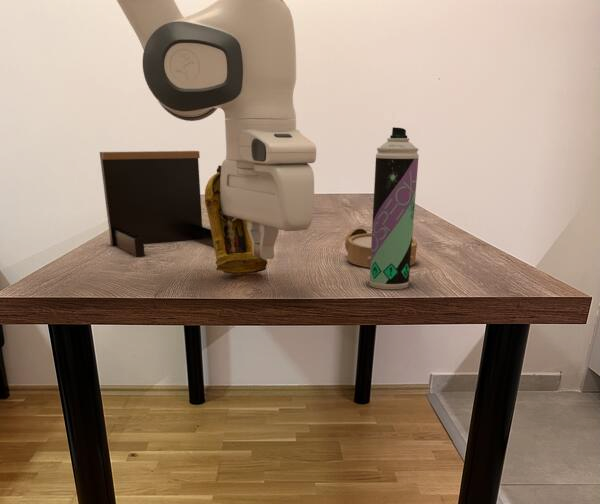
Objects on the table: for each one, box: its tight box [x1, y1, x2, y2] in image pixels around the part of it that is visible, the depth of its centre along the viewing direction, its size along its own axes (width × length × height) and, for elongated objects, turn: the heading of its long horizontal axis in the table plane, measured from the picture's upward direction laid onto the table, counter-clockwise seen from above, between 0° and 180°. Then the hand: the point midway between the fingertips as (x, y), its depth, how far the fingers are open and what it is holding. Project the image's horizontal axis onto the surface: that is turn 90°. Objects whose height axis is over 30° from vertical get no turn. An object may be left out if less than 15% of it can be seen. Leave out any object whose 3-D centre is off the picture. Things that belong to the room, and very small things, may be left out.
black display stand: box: [99, 150, 214, 258], centre depth 114 cm, size 18×14×16 cm
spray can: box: [369, 126, 420, 290], centre depth 85 cm, size 6×6×20 cm
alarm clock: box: [344, 228, 418, 269], centre depth 106 cm, size 11×5×15 cm
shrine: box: [204, 164, 268, 275], centre depth 91 cm, size 12×8×15 cm
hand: (263, 257), depth 86 cm, fingers closed
